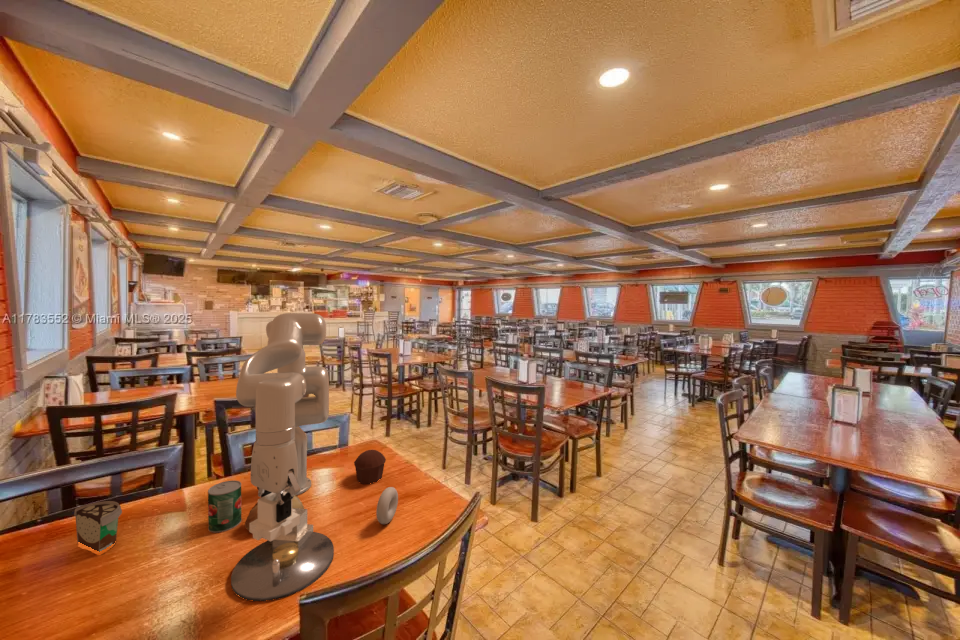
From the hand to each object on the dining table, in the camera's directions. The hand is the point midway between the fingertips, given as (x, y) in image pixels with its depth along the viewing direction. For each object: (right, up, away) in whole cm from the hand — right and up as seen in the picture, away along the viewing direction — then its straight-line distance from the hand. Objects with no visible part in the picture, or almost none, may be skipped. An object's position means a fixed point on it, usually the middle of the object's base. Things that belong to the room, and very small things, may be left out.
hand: (275, 514), depth 79 cm
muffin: (+5, -16, +52) cm, 55 cm away
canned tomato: (-28, -16, +24) cm, 40 cm away
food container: (-54, -16, +14) cm, 58 cm away
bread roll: (-14, -16, +25) cm, 33 cm away
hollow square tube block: (0, -3, 0) cm, 3 cm away
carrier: (-2, -17, +8) cm, 19 cm away
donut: (+18, -17, +27) cm, 36 cm away
